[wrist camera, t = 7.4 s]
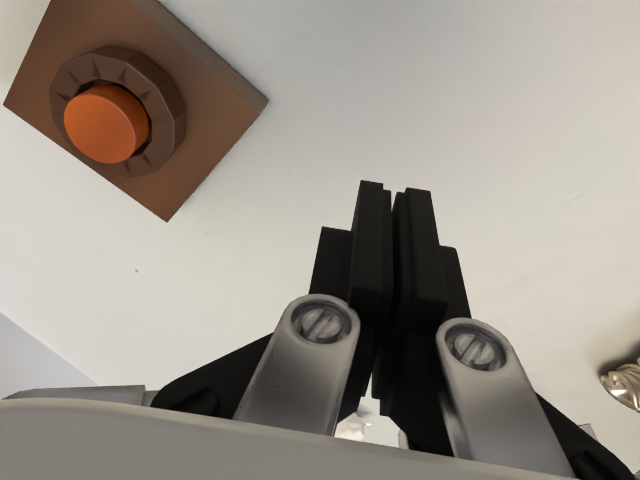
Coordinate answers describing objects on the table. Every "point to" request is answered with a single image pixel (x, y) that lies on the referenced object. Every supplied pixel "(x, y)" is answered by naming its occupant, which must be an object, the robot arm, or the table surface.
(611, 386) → the ornament
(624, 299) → the table surface
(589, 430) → the thin grey sheet
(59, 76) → the button block
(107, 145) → the button
